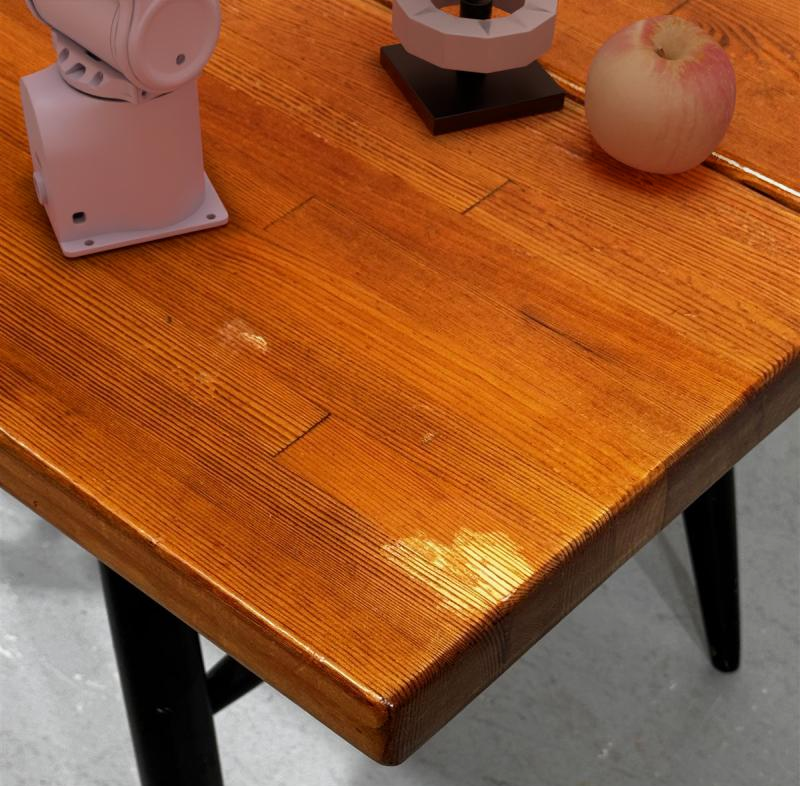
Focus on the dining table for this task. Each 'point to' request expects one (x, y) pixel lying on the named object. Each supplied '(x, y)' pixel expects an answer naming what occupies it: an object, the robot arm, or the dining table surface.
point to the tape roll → (475, 34)
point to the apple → (660, 95)
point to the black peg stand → (470, 86)
